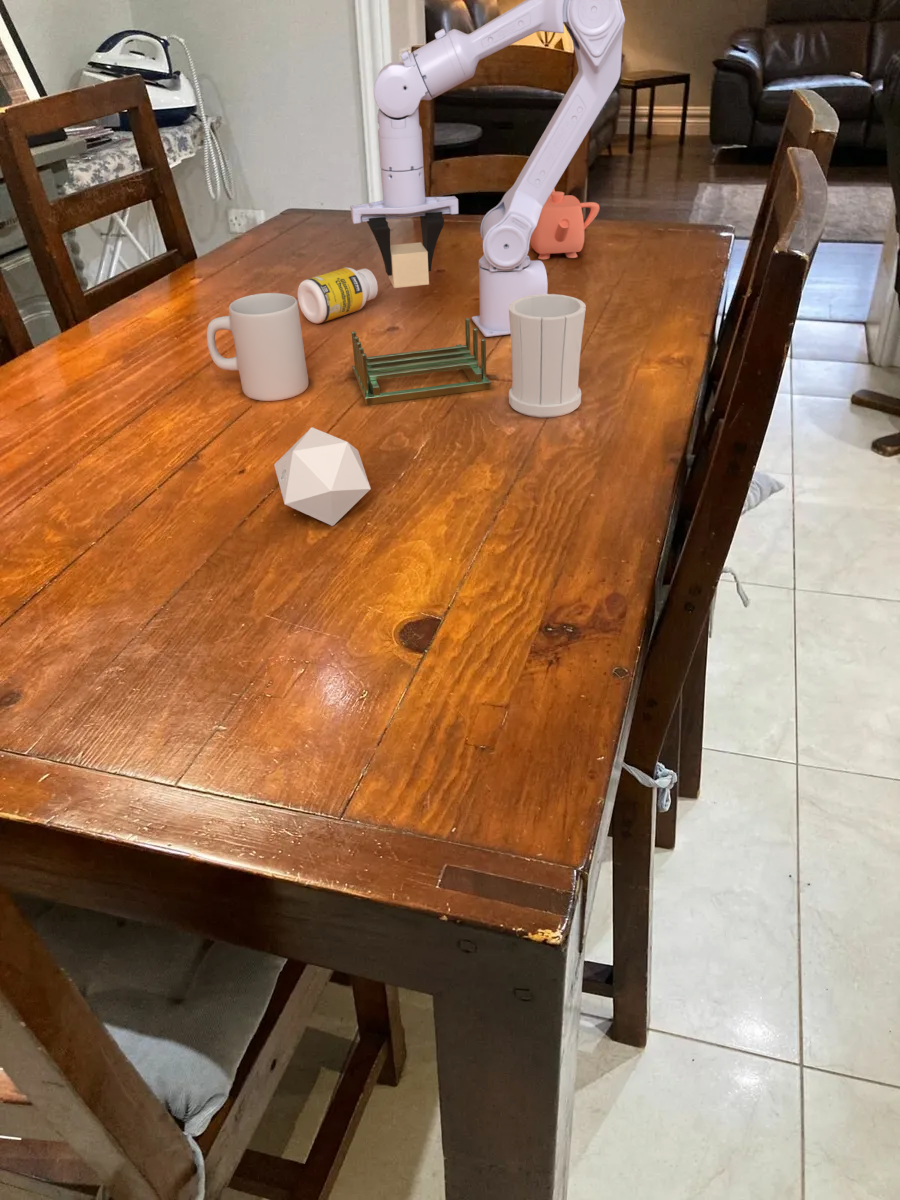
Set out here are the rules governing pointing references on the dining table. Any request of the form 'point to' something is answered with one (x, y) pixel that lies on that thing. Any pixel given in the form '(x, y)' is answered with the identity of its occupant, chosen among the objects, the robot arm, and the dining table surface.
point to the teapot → (561, 226)
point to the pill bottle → (336, 293)
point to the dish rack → (420, 369)
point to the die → (322, 476)
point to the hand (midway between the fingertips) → (408, 271)
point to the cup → (546, 354)
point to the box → (409, 265)
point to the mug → (264, 346)
